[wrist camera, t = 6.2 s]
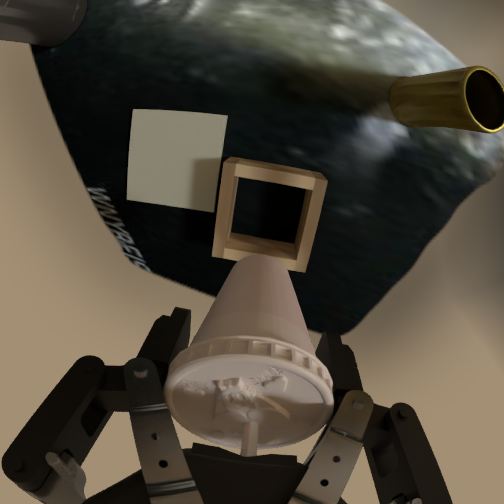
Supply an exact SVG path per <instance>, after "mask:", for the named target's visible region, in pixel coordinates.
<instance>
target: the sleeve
mask: <svg viewBox="0 0 504 504" xmlns="http://www.w3.org/2000/svg"><path fill="white" fill-rule="evenodd" d="M239 177H244V178H250V179H256V180H262V181H267V182H273V183H278V184H284V185H289V186H294V187H299V188H305V189H306V193H305V198H304V203H303V207H302V212H301V216H300V221H299V225H298V230H297V234H296V239H295V243H294V244H293V243H287V242H282V241H276V240H270V239H265V238H259V237H253V236H248V235H242V234H236V233H231V226H232V219H233V212H234V205H235V198H236V191H237V184H238V178H239ZM326 186H327V180H326V178H325V177H324V176H323V175H322V174H321V173H318V172H313V171H308V170H303V169H298V168H293V167H288V166H283V165H277V164H272V163H266V162H260V161H254V160H248V159H242V158H235V157H230V158H228V159H227V160H226V161H224V164H223V171H222V178H221V186H220V193H219V201H218V209H217V217H216V226H215V234H214V243H213V252H212V256H213V257H219V258H225V259H230V260H236V261H240V260H241V259H243V258H244V257H247V256H250V255H255V254H263V255H268V256H271V257H274V258H276V259H277V260H279V261H280V262H281V263H282V264H283V265H284V266H285V268H286V269H288V270H293V271H299V272H305V271H306V267H307V263H308V259H309V256H310V252H311V248H312V244H313V240H314V236H315V232H316V228H317V224H318V220H319V216H320V212H321V207H322V203H323V199H324V195H325V190H326Z"/></svg>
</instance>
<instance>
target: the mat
mask: <svg viewBox="0 0 504 504" xmlns="http://www.w3.org/2000/svg"><path fill="white" fill-rule="evenodd" d="M226 123H227V116H225V115H216V114H206V113H196V112H183V111H167V110H143V109H133V115H132V124H131V134H130V146H129V160H128V179H127V200H134V201H141V202H148V203H155V204H162V205H168V206H175V207H182V208H188V209H194V210H201V211H207V212H214V211H215V202H216V194H217V187H218V179H219V171H220V164H221V157H222V150H223V143H224V136H225V129H226Z"/></svg>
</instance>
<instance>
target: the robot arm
mask: <svg viewBox="0 0 504 504" xmlns="http://www.w3.org/2000/svg"><path fill="white" fill-rule="evenodd" d="M86 8H87V0H0V40H6V41H15V42H23V43H29V44H35V45H42V46H47V47H53V46H57V45H59V44H61V43H63V42H64V41H65V40H67V39H68V38H69V37H70V36H71V35H72V34H73V33H74V32H75V31H76V29H77V28H78V26H79V25H80V23H81V22H82V20H83V18H84V15H85V12H86ZM190 323H191V310H188V309H184V308H179V307H175V308H174V310H173V312H172V314H171V316H165V315H162V316H161V317H160V318H158V319H157V320H156V321H155V322H154V324H153V326H152V328H151V330H150V332H149V334H148V336H147V338H146V339H145V342H144V343H143V345H142V347H141V349H140V351H139V353H138V355H137V357H136V358H133V359H131V360H129V361H128V362H127V363H126V364H125V365H123V366H106V365H104V362H103V361H102V360H101V359H100V358H98V357H96V356H90V355H89V356H84V357H81V358H79V359H78V360H77V361H76V362H75V363H74V365H73V366H72V367H71V368H70V369H69V371H68V372H67V373H66V374H65V375H64V377H63V378H62V379H61V380H60V382H59V383H58V384H57V385H56V386H55V388H54V389H53V390H52V391H51V393H50V394H49V395H48V397H47V398H46V399H45V400H44V402H43V403H42V404H41V405H40V407H39V408H38V409H37V411H36V412H35V413H34V414H33V416H32V417H31V418H30V419H29V421H28V422H27V424H26V425H25V426H24V427H23V429H22V430H21V431H20V433H19V434H18V436H17V437H16V438H15V440H14V441H13V442H12V444H11V445H10V447H9V448H8V449H7V451H6V452H5V454H4V455H3V457H2V469H3V471H4V473H5V475H6V476H7V477H8V478H9V479H10V480H12V481H13V482H14V483H15V484H17V486H18V487H19V488H21V489H22V490H23V491H25V492H26V493H28V494H29V495H30V496H32V497H33V498H35V499H38V500H39V501H41V502H42V503H44V504H347V503H346V502H345V501H344V500H343V499H342V498H341V495H342V493H343V491H344V488H345V486H346V484H347V482H348V480H349V478H350V475H351V473H352V471H353V469H354V466H355V464H356V462H357V459H358V457H359V454H360V452H361V449H362V447H364V449H365V453H366V456H367V459H368V463H369V466H370V470H371V473H372V477H373V480H374V484H375V488H376V491H377V495H378V499H379V502H380V504H453V503H452V500H451V497H450V495H449V492H448V489H447V486H446V484H445V481H444V479H443V476H442V473H441V471H440V469H439V466H438V463H437V461H436V458H435V456H434V454H433V451H432V449H431V446H430V444H429V442H428V439H427V437H426V435H425V432H424V430H423V428H422V426H421V423H420V421H419V419H418V417H417V414H416V412H415V411H414V409H413V408H412V407H411V406H409V405H408V404H405V403H396V404H394V405H393V406H392V407H391V408H387V407H383V406H380V405H377V404H375V403H373V400H372V398H371V397H370V395H368V394H367V393H365V392H364V391H363V388H362V383H361V379H360V376H359V372H358V369H357V364H356V362H355V361H356V360H355V356H354V353H353V351H352V350H351V349H350V347H349V346H348V345H344V344H342V341H341V337H340V334H338V333H329V332H324V333H323V334H322V337H321V339H320V342H319V344H318V347H317V349H316V352H315V354H316V357H317V358H318V359H319V360H320V361H321V362H322V363H323V364H324V365H325V366H326V367H327V369H328V372H329V374H330V376H331V379H332V381H333V392H332V394H333V399H334V409H333V413H332V415H331V417H330V419H329V420H328V422H327V423H326V426H325V428H324V429H323V431H322V433H321V435H320V436H319V438H318V440H317V442H316V444H315V445H314V447H313V449H312V451H311V452H310V454H309V456H308V457H307V459H306V461H305V462H304V463H303V464H301V463H298V462H297V456H293V455H278V454H268V455H260V456H250V457H244V456H241V455H238V454H235V453H232V452H230V451H227V450H225V449H222V448H220V447H215V446H209V445H204V444H199V443H193V446H192V448H186V449H182V448H181V445H180V442H179V439H178V437H177V433H176V430H175V427H174V424H173V420H172V418H171V414H170V410H169V407H168V405H166V402H165V398H164V395H163V388H164V385H165V382H166V380H167V374H168V370H169V366H170V363H171V362H172V361H173V360H174V359H175V357H176V356H177V355H178V354H179V353H180V352H181V351H182V350H184V349H186V348H187V347H188V344H189V339H190ZM114 411H117V412H129V414H130V419H131V425H132V429H133V434H134V439H135V444H136V448H137V452H138V456H139V460H140V465H141V468H142V469H140V470H138V471H137V472H135V473H133V474H132V475H130V476H128V477H126V478H125V479H123V480H121V481H120V482H118V483H116V484H114V485H112V486H110V487H108V488H107V489H105V490H103V491H101V492H99V493H97V494H96V495H93V496H91V497H90V498H88V499H86V497H85V495H84V486H85V483H86V476H85V473H84V471H83V470H82V469H81V468H80V467H81V465H82V463H83V462H84V460H85V458H86V456H87V455H88V453H89V451H90V449H91V448H92V446H93V445H94V443H95V441H96V440H97V438H98V437H99V435H100V433H101V432H102V430H103V428H104V427H105V425H106V423H107V422H108V420H109V419H110V417H111V415H112V414H113V412H114Z"/></svg>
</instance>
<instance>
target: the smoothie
mask: <svg viewBox="0 0 504 504" xmlns="http://www.w3.org/2000/svg"><path fill="white" fill-rule="evenodd" d="M332 392H333V381H332V379H331V376H330V374H329V372H328V369H327V367H326V366H325V365H324V364H323V363H322V362H321V361H320V360H319V359H318V358H317V357H316V354H315V351H314V348H313V345H312V343H311V340H310V337H309V334H308V330H307V327H306V324H305V321H304V318H303V315H302V312H301V309H300V306H299V303H298V300H297V297H296V294H295V291H294V288H293V286H292V283H291V280H290V277H289V274H288V271H287V269H286V268H285V266H284V265H283V264H282V263H281V262H280V261H279V260H277V259H276V258H274V257H271V256H268V255H263V254H255V255H250V256H247V257H244V258H243V259H241V260H240V261H238V262H237V263H236V264H235V266H234V267H233V269H232V270H231V272H230V274H229V276H228V278H227V279H226V281H225V283H224V285H223V287H222V288H221V290H220V292H219V294H218V296H217V297H216V299H215V301H214V303H213V305H212V307H211V308H210V310H209V312H208V314H207V316H206V318H205V319H204V321H203V323H202V325H201V327H200V328H199V330H198V332H197V334H196V335H195V337H194V339H193V341H192V343H191V345H190V346H189V347H187V348H186V349H184V350H182V351H181V352H180V353H179V354H178V355H177V356H176V357H175V359H174V360H173V361H172V362H171V363H170V366H169V370H168V374H167V380H166V382H165V385H164V388H163V395H164V398H165V402H166V405H168V407H169V410H170V414H171V415H172V416H173V418H174V419H175V420H176V421H177V422H178V423H179V424H180V425H181V426H182V427H184V428H185V429H187V430H188V431H190V432H191V433H193V434H195V435H197V436H199V437H201V438H203V439H205V440H208V441H210V442H213V443H216V444H219V445H223V446H227V447H233V448H239V449H241V454H240V455H241V456H244V457H250V456H257V450H258V449H272V448H279V447H284V446H288V445H291V444H295V443H297V442H299V441H302V440H305V439H307V438H308V437H310V436H312V435H313V434H315V433H316V432H318V431H319V430H320V429H321V428H322V427H323V426H324V425H325V424H326V423H327V422H328V420H329V419H330V417H331V415H332V413H333V409H334V399H333V394H332Z"/></svg>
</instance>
